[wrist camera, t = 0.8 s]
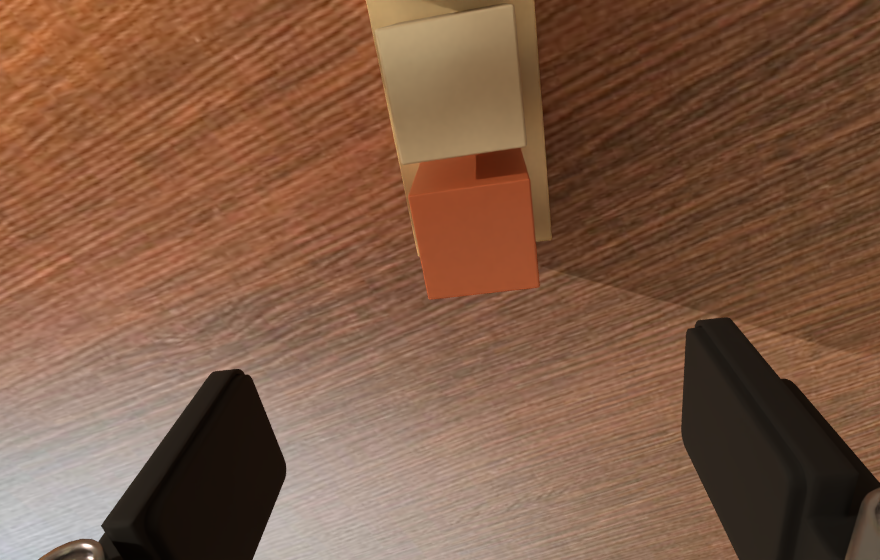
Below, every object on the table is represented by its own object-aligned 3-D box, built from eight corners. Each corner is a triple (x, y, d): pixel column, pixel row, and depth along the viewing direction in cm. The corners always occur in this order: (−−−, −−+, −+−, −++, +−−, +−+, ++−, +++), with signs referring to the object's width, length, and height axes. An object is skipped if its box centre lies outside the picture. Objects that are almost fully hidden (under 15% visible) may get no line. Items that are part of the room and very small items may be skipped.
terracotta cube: (421, 156, 22) (407, 195, 17) (519, 141, 21) (529, 178, 17) (437, 244, 24) (428, 300, 19) (528, 232, 23) (540, 288, 19)
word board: (337, -154, 18) (283, -213, 13) (518, -196, 17) (534, -277, 12) (419, 251, 24) (404, 315, 20) (550, 235, 24) (569, 297, 19)
